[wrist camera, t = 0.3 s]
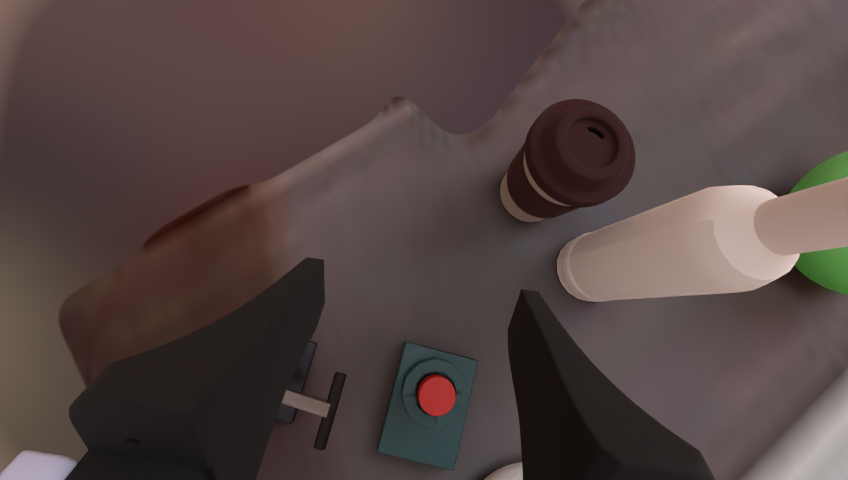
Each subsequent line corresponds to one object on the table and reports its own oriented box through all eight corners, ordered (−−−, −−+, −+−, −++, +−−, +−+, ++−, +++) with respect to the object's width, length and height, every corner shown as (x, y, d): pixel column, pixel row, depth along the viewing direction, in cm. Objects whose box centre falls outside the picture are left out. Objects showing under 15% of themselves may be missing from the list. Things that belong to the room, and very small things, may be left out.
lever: (350, 373, 34) (341, 376, 32) (330, 446, 33) (318, 454, 31) (242, 341, 36) (226, 341, 34) (219, 408, 35) (201, 412, 33)
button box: (450, 464, 41) (457, 478, 38) (377, 446, 41) (377, 458, 37) (474, 359, 43) (482, 363, 40) (404, 340, 43) (407, 343, 39)
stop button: (447, 415, 39) (451, 420, 37) (413, 407, 39) (414, 411, 37) (456, 379, 40) (459, 382, 38) (422, 370, 40) (424, 372, 38)
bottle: (618, 304, 47) (1028, 288, 17) (555, 300, 46) (873, 275, 16) (616, 238, 48) (988, 121, 19) (555, 233, 47) (845, 102, 18)
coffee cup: (511, 247, 46) (573, 216, 32) (474, 174, 47) (516, 112, 33) (580, 213, 48) (668, 170, 33) (542, 144, 49) (611, 72, 35)
